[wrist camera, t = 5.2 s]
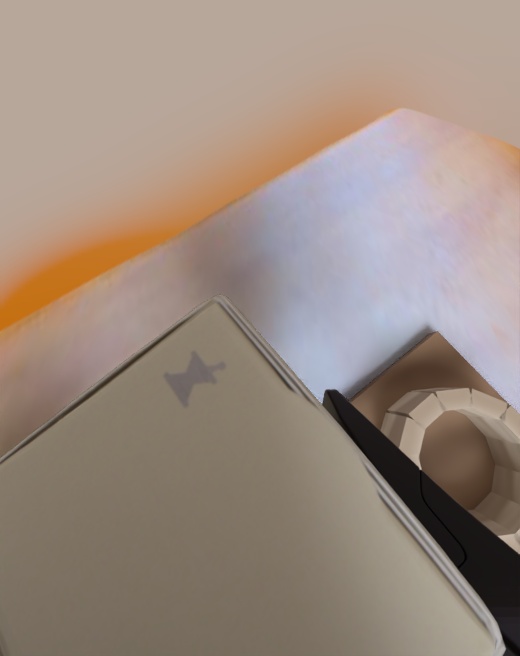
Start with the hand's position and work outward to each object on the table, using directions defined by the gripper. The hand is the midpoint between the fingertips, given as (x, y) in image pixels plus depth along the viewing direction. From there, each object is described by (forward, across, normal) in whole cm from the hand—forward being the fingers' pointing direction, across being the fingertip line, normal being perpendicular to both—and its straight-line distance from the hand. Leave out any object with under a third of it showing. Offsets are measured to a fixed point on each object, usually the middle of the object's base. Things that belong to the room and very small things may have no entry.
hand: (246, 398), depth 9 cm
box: (+4, 0, +6) cm, 7 cm away
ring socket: (+6, -16, +13) cm, 22 cm away
